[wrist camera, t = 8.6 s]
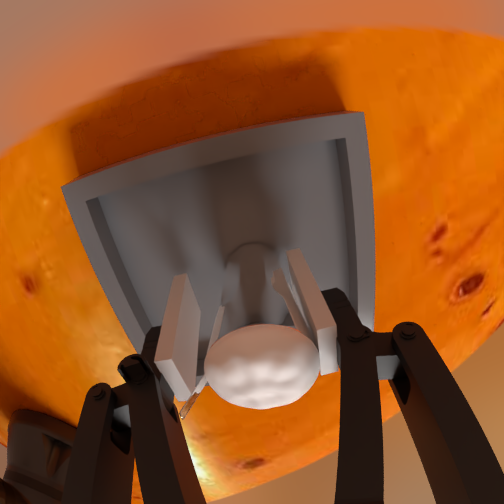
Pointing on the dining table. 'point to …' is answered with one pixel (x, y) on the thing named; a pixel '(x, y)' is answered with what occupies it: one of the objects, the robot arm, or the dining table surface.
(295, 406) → the dining table surface
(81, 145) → the dining table surface
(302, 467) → the dining table surface
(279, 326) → the milkshake
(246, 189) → the slate tray
